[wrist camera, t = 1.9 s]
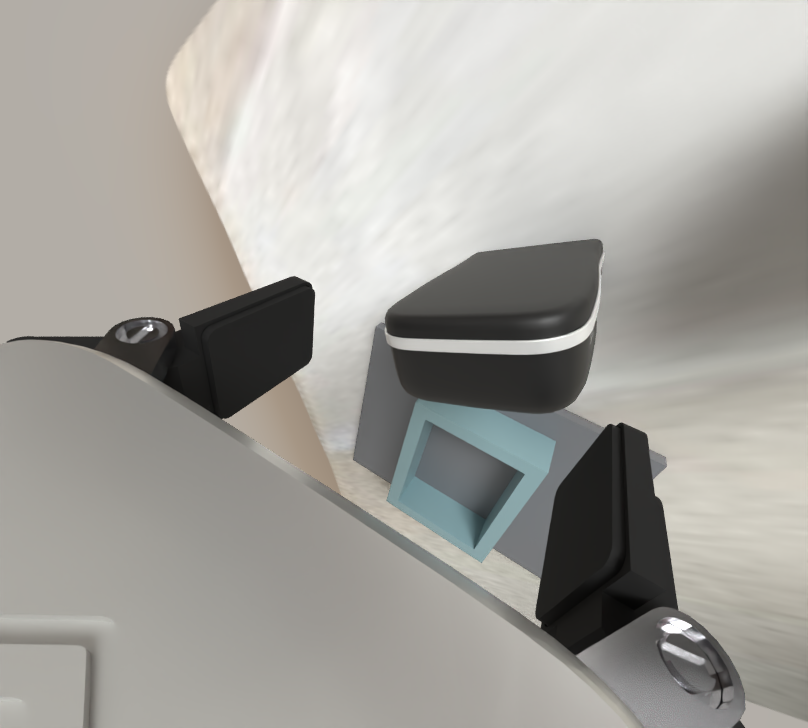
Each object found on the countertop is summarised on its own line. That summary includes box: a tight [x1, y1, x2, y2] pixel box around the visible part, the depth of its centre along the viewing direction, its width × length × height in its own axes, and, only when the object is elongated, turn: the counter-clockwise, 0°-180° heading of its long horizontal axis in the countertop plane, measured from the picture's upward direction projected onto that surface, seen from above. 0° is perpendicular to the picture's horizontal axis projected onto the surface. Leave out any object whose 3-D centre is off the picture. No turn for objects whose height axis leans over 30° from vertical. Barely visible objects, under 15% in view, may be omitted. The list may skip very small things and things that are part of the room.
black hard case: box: [385, 239, 605, 414], centre depth 15 cm, size 7×4×11 cm, turn 100°
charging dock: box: [353, 323, 667, 578], centre depth 26 cm, size 20×16×4 cm
